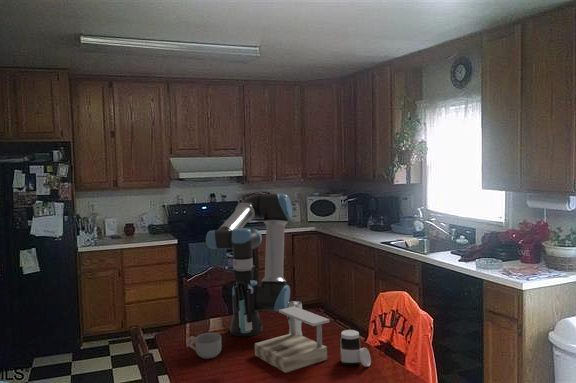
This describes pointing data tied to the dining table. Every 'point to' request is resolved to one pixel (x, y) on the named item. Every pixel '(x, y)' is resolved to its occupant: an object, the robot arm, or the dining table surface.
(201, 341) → the teacup
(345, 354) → the spread jar
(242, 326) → the peg
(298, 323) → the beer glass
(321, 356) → the socket block
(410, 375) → the dining table surface
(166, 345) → the dining table surface
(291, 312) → the grey piece
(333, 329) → the dining table surface
